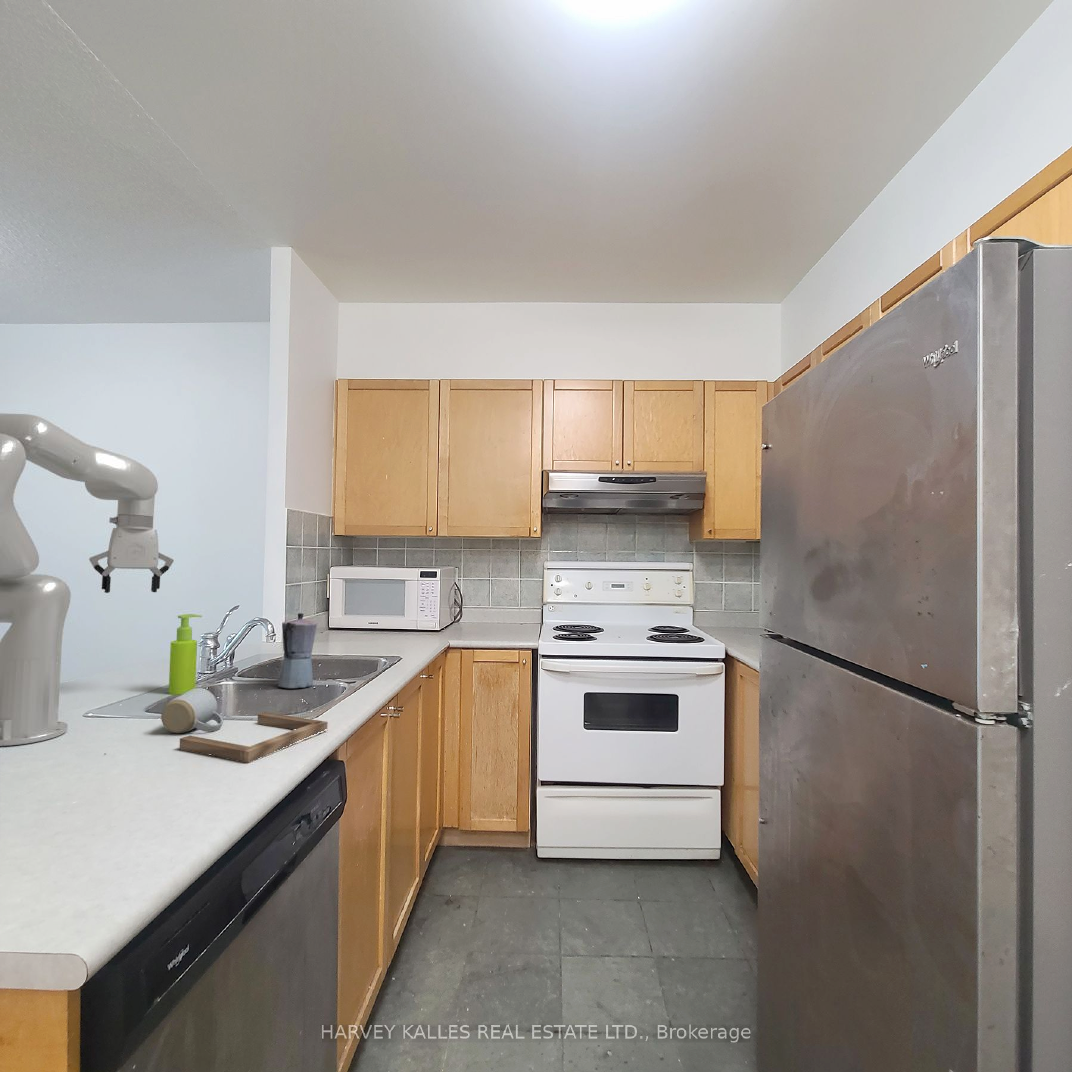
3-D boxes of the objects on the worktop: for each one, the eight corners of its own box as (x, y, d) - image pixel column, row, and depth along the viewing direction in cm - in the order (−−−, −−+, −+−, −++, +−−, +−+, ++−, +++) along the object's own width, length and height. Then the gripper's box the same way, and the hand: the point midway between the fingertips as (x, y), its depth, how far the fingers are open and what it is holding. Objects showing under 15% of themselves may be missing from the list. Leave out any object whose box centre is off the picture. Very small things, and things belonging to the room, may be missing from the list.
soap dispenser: (203, 690, 152) (206, 614, 153) (176, 696, 146) (179, 616, 147) (191, 687, 155) (194, 612, 156) (163, 692, 149) (167, 615, 150)
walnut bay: (248, 763, 102) (248, 751, 102) (179, 749, 108) (179, 738, 108) (327, 731, 120) (327, 721, 120) (264, 721, 126) (265, 712, 126)
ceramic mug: (156, 734, 116) (159, 696, 116) (182, 722, 124) (184, 686, 124) (209, 737, 116) (211, 698, 116) (231, 725, 124) (233, 689, 124)
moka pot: (322, 680, 167) (325, 611, 167) (303, 693, 151) (305, 617, 152) (289, 680, 167) (291, 610, 167) (266, 693, 151) (268, 616, 152)
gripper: (93, 520, 136) (88, 593, 135) (178, 525, 148) (174, 592, 147) (89, 521, 141) (85, 592, 140) (171, 526, 153) (168, 591, 152)
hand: (131, 592), depth 144 cm, fingers open, 9 cm apart
